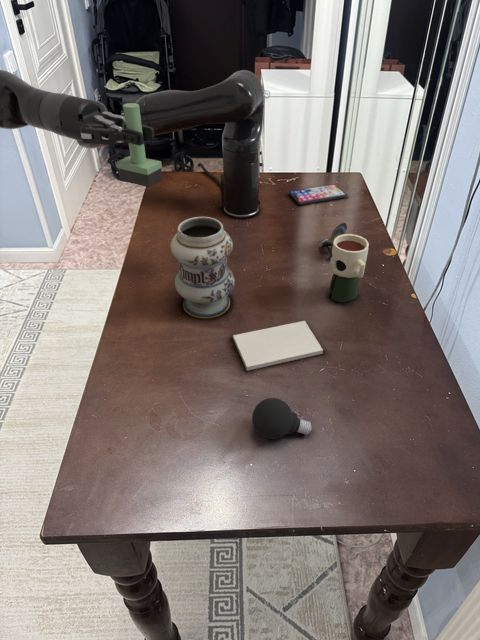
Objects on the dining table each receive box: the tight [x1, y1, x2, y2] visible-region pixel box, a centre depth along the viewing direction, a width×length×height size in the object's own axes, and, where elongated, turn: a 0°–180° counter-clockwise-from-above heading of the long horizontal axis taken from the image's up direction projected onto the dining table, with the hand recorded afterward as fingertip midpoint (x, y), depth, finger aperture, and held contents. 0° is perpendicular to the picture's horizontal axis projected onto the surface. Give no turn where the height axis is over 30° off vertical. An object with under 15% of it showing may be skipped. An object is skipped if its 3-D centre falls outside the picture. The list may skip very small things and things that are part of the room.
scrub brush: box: [115, 102, 163, 188], centre depth 92 cm, size 7×5×14 cm, turn 63°
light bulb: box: [251, 397, 312, 440], centre depth 78 cm, size 6×6×10 cm
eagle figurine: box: [317, 222, 348, 261], centre depth 117 cm, size 8×7×9 cm
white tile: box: [232, 320, 324, 372], centre depth 94 cm, size 15×9×1 cm, turn 109°
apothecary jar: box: [170, 216, 236, 319], centre depth 97 cm, size 12×12×18 cm
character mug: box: [328, 233, 370, 303], centre depth 102 cm, size 11×7×13 cm, turn 23°
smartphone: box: [288, 183, 347, 206], centre depth 140 cm, size 8×1×15 cm
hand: (147, 136), depth 90 cm, fingers closed on scrub brush, 3 cm apart
